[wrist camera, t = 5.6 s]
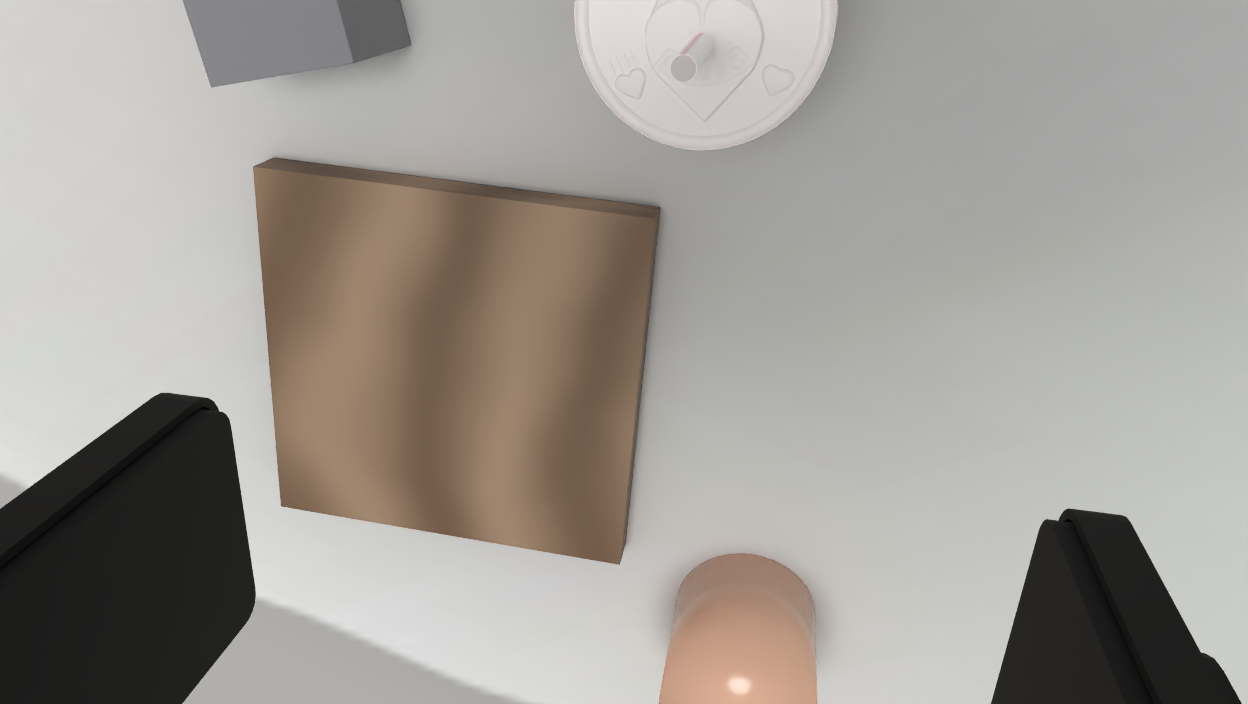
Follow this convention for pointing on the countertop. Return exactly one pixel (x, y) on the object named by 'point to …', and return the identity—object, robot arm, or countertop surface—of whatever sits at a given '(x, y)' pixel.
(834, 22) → the smoothie
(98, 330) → the countertop surface
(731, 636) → the peach rounded cylinder
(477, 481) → the walnut board
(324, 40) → the rubber block
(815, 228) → the countertop surface
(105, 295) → the countertop surface
